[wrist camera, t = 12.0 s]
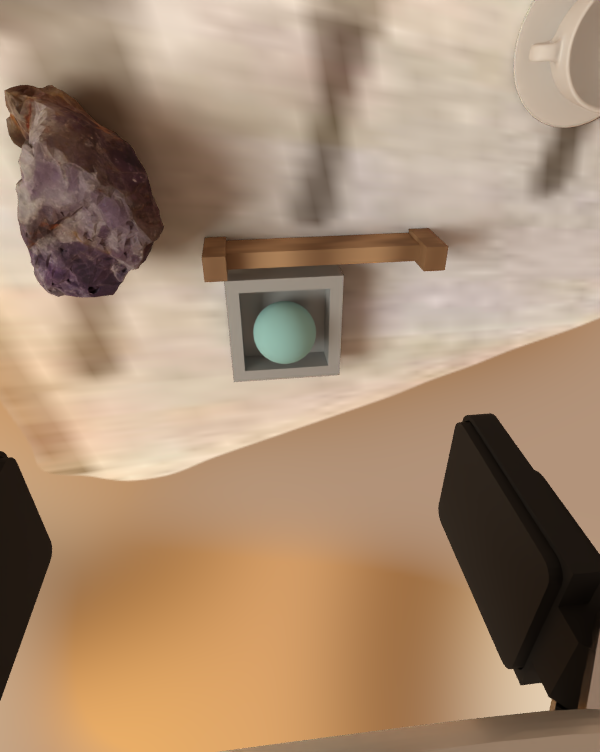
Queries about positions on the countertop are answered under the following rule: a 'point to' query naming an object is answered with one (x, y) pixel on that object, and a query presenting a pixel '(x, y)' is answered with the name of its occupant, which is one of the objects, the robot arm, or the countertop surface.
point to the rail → (322, 252)
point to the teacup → (560, 62)
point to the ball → (284, 332)
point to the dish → (295, 284)
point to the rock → (78, 195)
